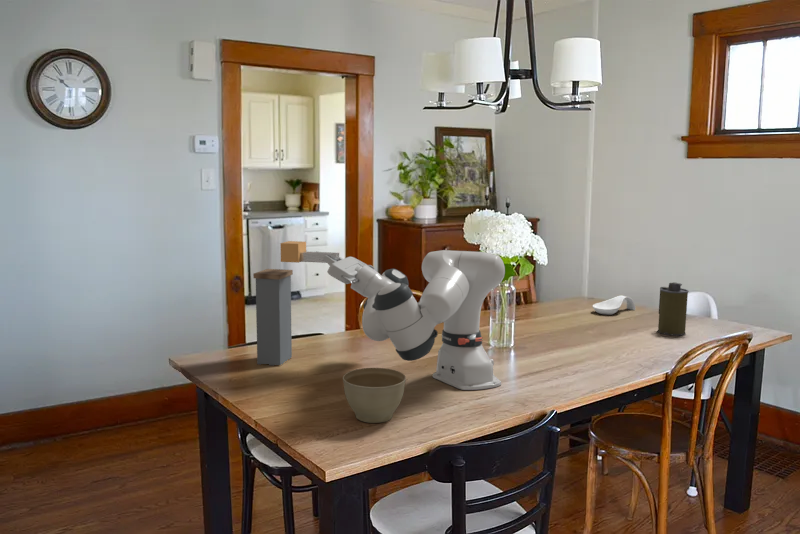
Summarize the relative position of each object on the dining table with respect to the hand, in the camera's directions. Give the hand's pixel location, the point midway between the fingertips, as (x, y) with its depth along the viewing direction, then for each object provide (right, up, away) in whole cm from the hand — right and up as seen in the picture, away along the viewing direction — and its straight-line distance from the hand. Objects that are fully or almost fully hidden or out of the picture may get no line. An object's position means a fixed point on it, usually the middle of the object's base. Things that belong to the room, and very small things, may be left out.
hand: (326, 256), depth 221 cm
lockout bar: (-5, -2, +1) cm, 6 cm away
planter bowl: (+17, -43, -42) cm, 62 cm away
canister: (+131, -30, +54) cm, 145 cm away
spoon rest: (+121, -24, +93) cm, 154 cm away
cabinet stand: (-18, -35, +9) cm, 40 cm away
